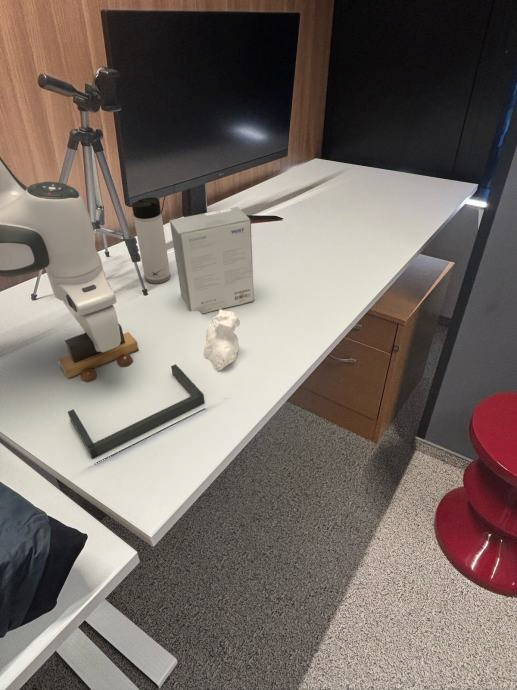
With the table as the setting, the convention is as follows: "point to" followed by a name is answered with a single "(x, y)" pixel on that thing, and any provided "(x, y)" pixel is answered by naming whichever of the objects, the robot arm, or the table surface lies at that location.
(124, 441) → the catcher
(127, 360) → the brown ball
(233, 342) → the bust
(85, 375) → the brown chestnut
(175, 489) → the table surface
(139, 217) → the travel mug
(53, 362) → the table surface
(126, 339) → the brush
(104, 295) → the robot arm
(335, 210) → the table surface
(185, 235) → the hard drive box
